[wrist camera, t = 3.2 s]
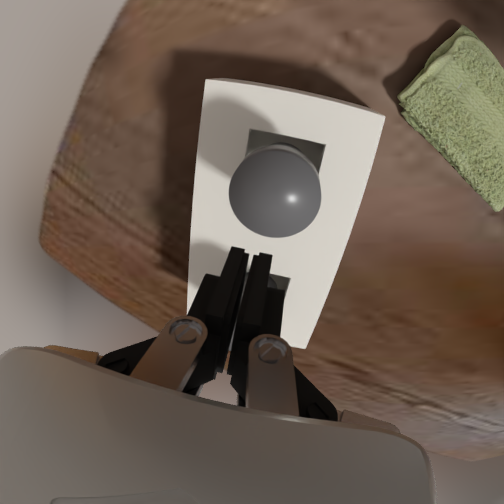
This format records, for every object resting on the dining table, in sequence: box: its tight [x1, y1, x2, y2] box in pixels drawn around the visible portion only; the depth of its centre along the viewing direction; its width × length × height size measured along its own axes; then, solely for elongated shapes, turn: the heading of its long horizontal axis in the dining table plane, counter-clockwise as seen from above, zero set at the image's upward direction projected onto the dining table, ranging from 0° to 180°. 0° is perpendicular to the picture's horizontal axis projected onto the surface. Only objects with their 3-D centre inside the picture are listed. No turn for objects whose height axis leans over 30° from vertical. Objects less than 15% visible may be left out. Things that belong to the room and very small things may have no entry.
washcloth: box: [397, 25, 504, 212], centre depth 23 cm, size 13×18×3 cm
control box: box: [187, 78, 386, 349], centre depth 31 cm, size 26×14×6 cm, turn 171°
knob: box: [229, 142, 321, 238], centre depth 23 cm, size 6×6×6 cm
